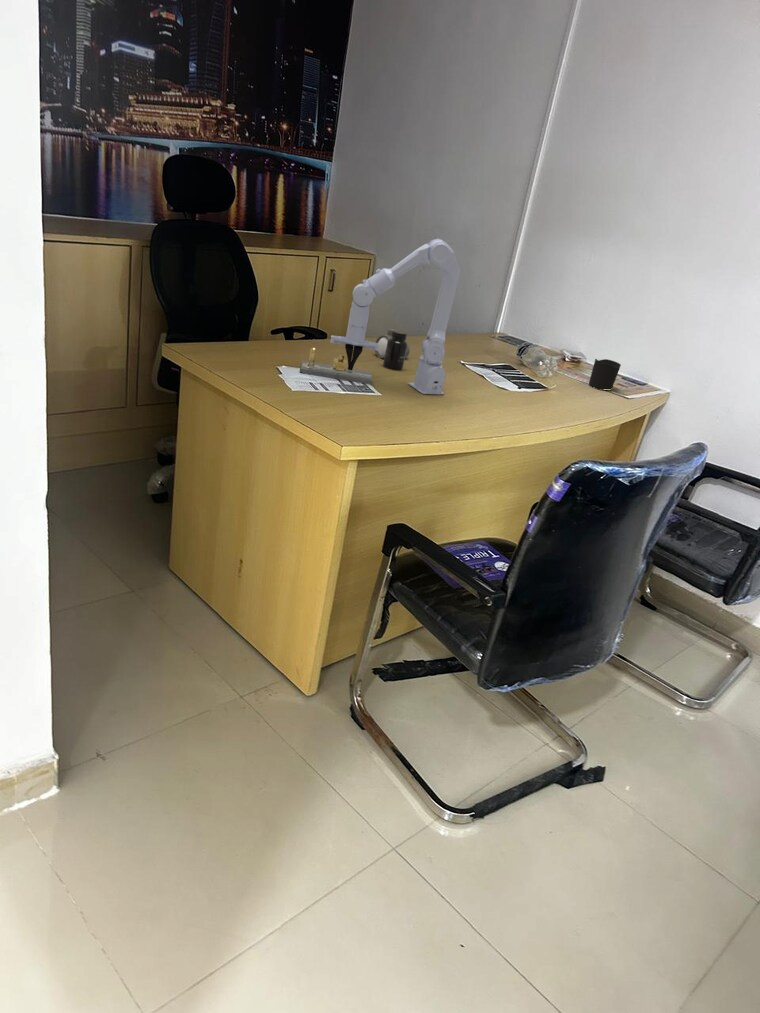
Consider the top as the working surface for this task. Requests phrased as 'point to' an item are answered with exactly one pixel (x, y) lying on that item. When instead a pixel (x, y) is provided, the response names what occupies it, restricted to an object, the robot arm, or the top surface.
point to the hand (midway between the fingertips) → (350, 369)
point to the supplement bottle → (395, 351)
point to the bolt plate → (334, 371)
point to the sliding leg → (340, 363)
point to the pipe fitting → (382, 343)
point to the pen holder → (604, 374)
